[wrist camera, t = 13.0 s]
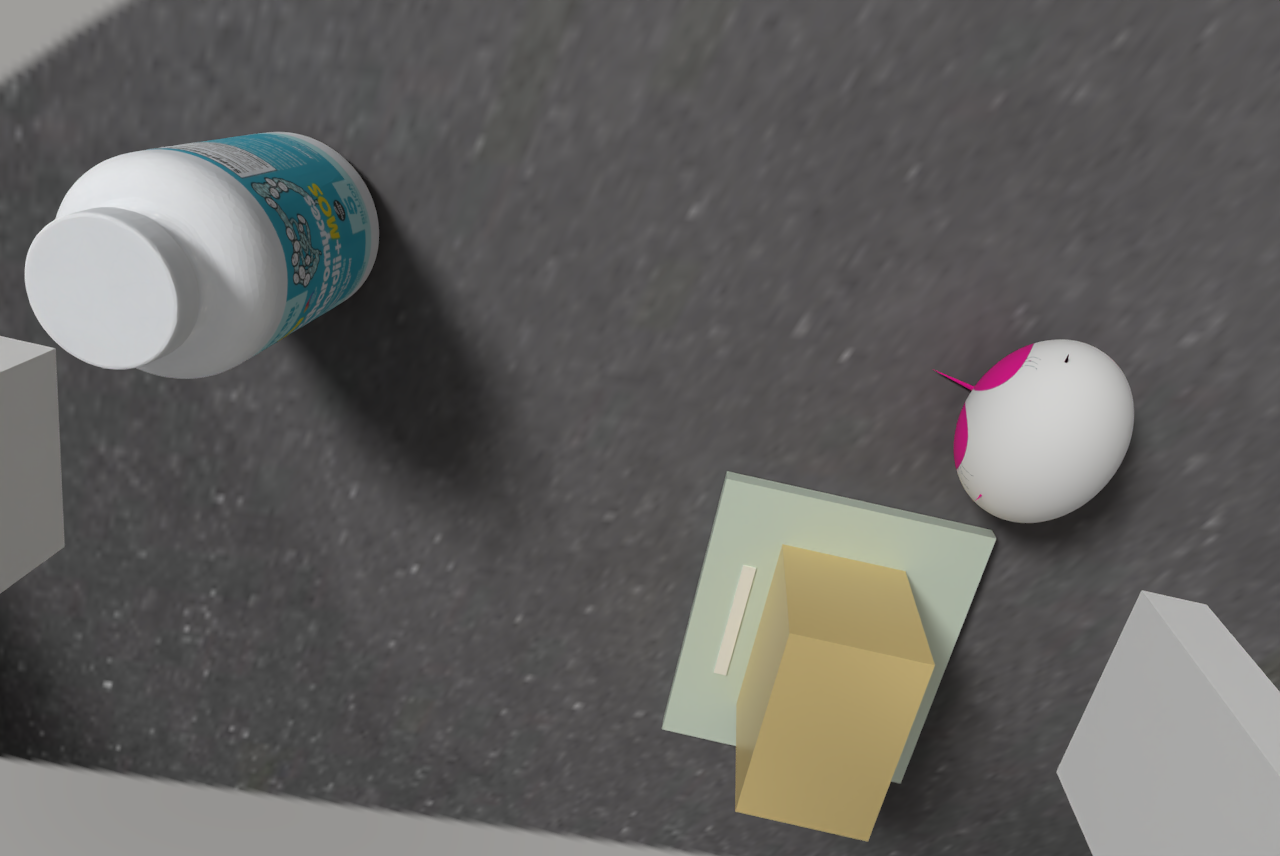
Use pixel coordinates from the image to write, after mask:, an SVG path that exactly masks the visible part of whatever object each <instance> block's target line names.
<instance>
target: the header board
mask: <svg viewBox="0 0 1280 856" xmlns="http://www.w3.org/2000/svg"><path fill="white" fill-rule="evenodd" d="M995 541H996V537H995V535H994V533H993V531H992V530H990V529H985V528H981V527H976V526H972V525H967V524H963V523H958V522H954V521H949V520H945V519H940V518H936V517H931V516H927V515H922V514H918V513H913V512H909V511H904V510H900V509H895V508H891V507H886V506H882V505H877V504H873V503H868V502H864V501H859V500H855V499H850V498H846V497H841V496H837V495H832V494H828V493H823V492H819V491H814V490H810V489H805V488H801V487H796V486H792V485H787V484H783V483H778V482H774V481H769V480H765V479H760V478H756V477H751V476H747V475H742V474H738V473H733V472H729V471H727V473H726V476H725V480H724V484H723V488H722V492H721V496H720V500H719V504H718V508H717V511H716V515H715V519H714V523H713V527H712V531H711V535H710V539H709V543H708V547H707V550H706V554H705V558H704V562H703V566H702V570H701V574H700V578H699V582H698V586H697V589H696V593H695V597H694V601H693V605H692V609H691V613H690V617H689V621H688V625H687V628H686V632H685V636H684V640H683V644H682V648H681V652H680V656H679V660H678V664H677V667H676V671H675V675H674V679H673V683H672V687H671V691H670V695H669V699H668V703H667V706H666V710H665V714H664V718H663V726H662V729H663V730H668V731H672V732H676V733H681V734H685V735H690V736H694V737H698V738H703V739H707V740H712V741H716V742H720V743H725V744H729V745H733V746H736V704H737V700H738V697H739V693H740V690H741V686H742V683H743V679H744V676H745V672H746V669H747V665H748V662H749V659H750V655H751V652H752V648H753V645H754V641H755V638H756V634H757V631H758V627H759V624H760V620H761V617H762V613H763V610H764V606H765V603H766V599H767V596H768V592H769V589H770V586H771V582H772V579H773V575H774V572H775V568H776V565H777V561H778V558H779V554H780V551H781V547H782V544H784V545H789V546H793V547H798V548H802V549H807V550H812V551H816V552H821V553H825V554H830V555H834V556H839V557H843V558H848V559H852V560H857V561H861V562H866V563H870V564H875V565H880V566H884V567H889V568H893V569H898V570H902V571H906V574H907V578H908V581H909V584H910V587H911V590H912V594H913V597H914V600H915V603H916V606H917V609H918V613H919V616H920V619H921V622H922V625H923V629H924V632H925V635H926V638H927V641H928V645H929V648H930V651H931V654H932V657H933V661H934V664H935V667H934V669H933V672H932V675H931V677H930V680H929V683H928V685H927V688H926V690H925V693H924V696H923V698H922V701H921V704H920V706H919V709H918V711H917V714H916V717H915V719H914V722H913V725H912V727H911V730H910V732H909V735H908V738H907V740H906V743H905V746H904V748H903V751H902V753H901V756H900V759H899V761H898V764H897V767H896V769H895V772H894V774H893V777H892V780H891V782H896V783H900V784H901V781H902V779H903V776H904V774H905V771H906V769H907V766H908V763H909V761H910V758H911V756H912V753H913V751H914V748H915V746H916V743H917V740H918V738H919V735H920V733H921V730H922V728H923V725H924V723H925V720H926V717H927V715H928V712H929V710H930V707H931V705H932V702H933V700H934V697H935V694H936V692H937V689H938V687H939V684H940V682H941V679H942V676H943V674H944V671H945V669H946V666H947V664H948V661H949V659H950V656H951V653H952V651H953V648H954V646H955V643H956V641H957V638H958V636H959V633H960V630H961V628H962V625H963V623H964V620H965V618H966V615H967V613H968V610H969V607H970V605H971V602H972V600H973V597H974V595H975V592H976V590H977V587H978V584H979V582H980V579H981V577H982V574H983V572H984V569H985V566H986V564H987V561H988V559H989V556H990V554H991V551H992V549H993V546H994V543H995Z"/></svg>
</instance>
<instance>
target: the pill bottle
mask: <svg viewBox="0 0 1280 856" xmlns="http://www.w3.org/2000/svg"><path fill="white" fill-rule="evenodd" d="M378 246H379V223H378V217H377V212H376V208H375V205H374V202H373V199H372V197H371V194H370V192H369V190H368V188H367V186H366V184H365V183H364V181H363V180H362V178H361V177H360V175H359V174H358V172H357V171H356V170H355V169H354V168H353V166H352V165H351V164H350V163H349V162H348V161H347V160H346V159H345V158H343V157H342V156H341V155H340V154H339V153H337V152H336V151H335V150H333V149H332V148H330V147H329V146H327V145H325V144H323V143H322V142H319V141H317V140H315V139H313V138H310V137H307V136H303V135H300V134H295V133H288V132H269V133H259V134H252V135H244V136H237V137H231V138H225V139H217V140H210V141H204V142H196V143H189V144H183V145H176V146H169V147H161V148H155V149H148V150H143V151H137V152H131V153H127V154H122V155H119V156H116V157H113V158H110V159H107V160H105V161H103V162H101V163H99V164H98V165H96V166H94V167H93V168H91V169H90V170H89V171H87V172H86V173H85V174H84V175H82V176H81V177H80V178H79V179H78V180H77V181H76V182H75V183H74V185H73V186H72V187H71V188H70V190H69V191H68V192H67V194H66V196H65V197H64V199H63V201H62V203H61V205H60V208H59V210H58V212H57V216H56V219H55V220H54V221H52V222H51V223H49V224H48V225H46V226H45V227H44V228H43V229H42V230H41V231H40V232H39V233H38V234H37V236H36V237H35V239H34V240H33V243H32V244H31V246H30V248H29V251H28V254H27V258H26V263H25V285H26V290H27V294H28V298H29V302H30V304H31V307H32V309H33V311H34V313H35V315H36V317H37V319H38V321H39V322H40V324H41V325H42V327H43V328H44V329H45V330H46V332H47V333H48V334H49V335H50V336H51V338H52V339H53V340H54V341H55V342H56V343H57V344H59V345H60V346H61V347H62V348H63V349H64V350H66V351H67V352H68V353H70V354H72V355H73V356H75V357H77V358H78V359H80V360H82V361H84V362H86V363H89V364H92V365H95V366H98V367H102V368H107V369H114V370H123V369H132V368H137V369H140V370H142V371H145V372H148V373H151V374H155V375H159V376H163V377H170V378H179V379H192V378H203V377H207V376H212V375H216V374H219V373H222V372H225V371H227V370H229V369H231V368H234V367H236V366H237V365H239V364H241V363H243V362H244V361H246V360H248V359H249V358H251V357H253V356H255V355H256V354H258V353H260V352H261V351H263V350H265V349H266V348H268V347H269V346H271V345H273V344H274V343H276V342H278V341H279V340H281V339H283V338H284V337H286V336H288V335H289V334H291V333H293V332H294V331H296V330H298V329H299V328H301V327H303V326H304V325H306V324H308V323H309V322H311V321H313V320H314V319H316V318H318V317H319V316H321V315H323V314H324V313H326V312H328V311H329V310H331V309H333V308H334V307H336V306H337V305H339V304H341V303H342V302H344V301H345V300H347V299H348V298H349V297H351V296H352V295H353V294H354V293H355V292H356V291H357V290H358V289H359V288H360V287H361V286H362V284H363V283H364V282H365V281H366V279H367V277H368V276H369V274H370V272H371V270H372V268H373V265H374V263H375V260H376V256H377V252H378Z"/></svg>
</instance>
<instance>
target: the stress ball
mask: <svg viewBox="0 0 1280 856" xmlns="http://www.w3.org/2000/svg"><path fill="white" fill-rule="evenodd" d="M935 371H936V370H935ZM936 372H938V371H936ZM938 373H940V372H938ZM940 374H942V375H944V376H946V377H947V378H949V379H951V380H953V381H955V382H957V383H958V384H960V385H962V386H964V387H966V388H968V389H970V390H971V393H970V394H969V396H968V398H967V400H966V402H965V403H964V406H963V408H962V410H961V413H960V416H959V419H958V422H957V426H956V431H955V438H954V460H955V466H956V470H957V473H958V476H959V479H960V481H961V483H962V485H963V487H964V489H965V491H966V492H967V493H968V495H969V496H970V497H971V499H972V500H973V501H974V502H975V503H976V504H977V505H978V506H980V507H981V508H982V509H984V510H985V511H987V512H988V513H990V514H992V515H994V516H996V517H998V518H1001V519H1004V520H1007V521H1011V522H1018V523H1037V522H1044V521H1048V520H1052V519H1056V518H1059V517H1061V516H1064V515H1066V514H1068V513H1070V512H1072V511H1074V510H1076V509H1078V508H1080V507H1081V506H1082V505H1084V504H1085V503H1087V502H1088V501H1089V500H1091V499H1092V498H1093V497H1094V496H1095V495H1097V494H1098V493H1099V492H1100V491H1101V490H1102V489H1103V487H1104V486H1105V485H1106V484H1107V483H1108V482H1109V481H1110V479H1111V478H1112V477H1113V475H1114V474H1115V473H1116V471H1117V469H1118V468H1119V466H1120V465H1121V463H1122V461H1123V459H1124V456H1125V454H1126V452H1127V449H1128V447H1129V444H1130V440H1131V436H1132V432H1133V425H1134V404H1133V397H1132V393H1131V389H1130V387H1129V384H1128V381H1127V379H1126V377H1125V375H1124V374H1123V372H1122V371H1121V369H1120V368H1119V366H1118V365H1117V364H1116V363H1115V362H1114V361H1113V360H1112V359H1111V358H1110V357H1109V356H1108V355H1106V354H1105V353H1103V352H1102V351H1100V350H1099V349H1097V348H1095V347H1093V346H1091V345H1088V344H1086V343H1082V342H1079V341H1074V340H1060V339H1057V340H1047V341H1042V342H1037V343H1034V344H1031V345H1028V346H1025V347H1023V348H1021V349H1019V350H1016V351H1015V352H1013V353H1011V354H1009V355H1008V356H1006V357H1005V358H1003V359H1002V360H1000V361H999V362H998V363H997V364H995V365H994V366H993V367H992V368H991V369H990V370H989V371H988V372H987V373H986V374H985V375H984V376H983V377H982V378H981V379H980V380H979V382H978V383H977V384H976V385H975V387H974V386H972V385H969V384H967V383H965V382H962V381H960V380H957V379H955V378H952V377H950V376H948V375H945V374H943V373H940Z"/></svg>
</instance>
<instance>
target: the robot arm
mask: <svg viewBox="0 0 1280 856" xmlns="http://www.w3.org/2000/svg"><path fill="white" fill-rule="evenodd" d="M63 547H65V544H64V522H63V500H62V478H61V457H60V435H59V413H58V391H57V369H56V348H51V347H47V346H42V345H38V344H33V343H29V342H24V341H20V340H15V339H11V338H6V337H2V336H0V593H2V592H3V591H4V590H6V589H7V588H8V587H10V586H11V585H12V584H14V583H15V582H17V581H18V580H19V579H21V578H22V577H23V576H25V575H26V574H28V573H29V572H30V571H32V570H33V569H34V568H36V567H37V566H39V565H40V564H41V563H43V562H44V561H45V560H47V559H48V558H50V557H51V556H52V555H54V554H55V553H56V552H58V551H59V550H60V549H62V548H63ZM1056 772H1057V774H1058V777H1059V779H1060V781H1061V784H1062V786H1063V788H1064V790H1065V793H1066V795H1067V797H1068V800H1069V802H1070V804H1071V807H1072V809H1073V811H1074V813H1075V816H1076V818H1077V820H1078V823H1079V825H1080V827H1081V829H1082V832H1083V834H1084V836H1085V839H1086V841H1087V843H1088V846H1089V848H1090V850H1091V852H1092V855H1093V856H1280V692H1279V691H1278V689H1277V688H1276V687H1275V686H1274V685H1273V683H1272V682H1271V681H1270V680H1269V679H1268V677H1267V676H1266V675H1265V674H1264V673H1263V671H1262V670H1261V669H1260V668H1259V667H1258V666H1257V664H1256V663H1255V662H1254V661H1253V660H1252V658H1251V657H1250V656H1249V655H1248V654H1247V652H1246V651H1245V650H1244V649H1243V648H1242V646H1241V645H1240V644H1239V643H1238V642H1237V640H1236V639H1235V638H1234V637H1233V636H1232V635H1231V633H1230V632H1229V631H1228V630H1227V629H1226V627H1225V626H1224V625H1223V624H1222V623H1221V621H1220V620H1219V619H1218V618H1217V617H1216V615H1215V614H1214V613H1213V612H1212V611H1211V609H1210V608H1209V607H1208V606H1207V605H1205V604H1201V603H1196V602H1192V601H1187V600H1183V599H1178V598H1174V597H1169V596H1165V595H1160V594H1156V593H1151V592H1147V591H1141V593H1140V595H1139V597H1138V599H1137V601H1136V603H1135V606H1134V608H1133V610H1132V612H1131V614H1130V616H1129V618H1128V620H1127V623H1126V625H1125V627H1124V629H1123V631H1122V633H1121V635H1120V637H1119V640H1118V642H1117V644H1116V646H1115V648H1114V650H1113V652H1112V654H1111V657H1110V659H1109V661H1108V663H1107V665H1106V667H1105V669H1104V671H1103V674H1102V676H1101V678H1100V680H1099V682H1098V684H1097V686H1096V688H1095V691H1094V693H1093V695H1092V697H1091V699H1090V701H1089V703H1088V705H1087V708H1086V710H1085V712H1084V714H1083V716H1082V718H1081V720H1080V722H1079V725H1078V727H1077V729H1076V731H1075V733H1074V735H1073V737H1072V740H1071V742H1070V744H1069V746H1068V748H1067V750H1066V752H1065V754H1064V757H1063V759H1062V761H1061V763H1060V765H1059V767H1058V769H1057V771H1056Z"/></svg>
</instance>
